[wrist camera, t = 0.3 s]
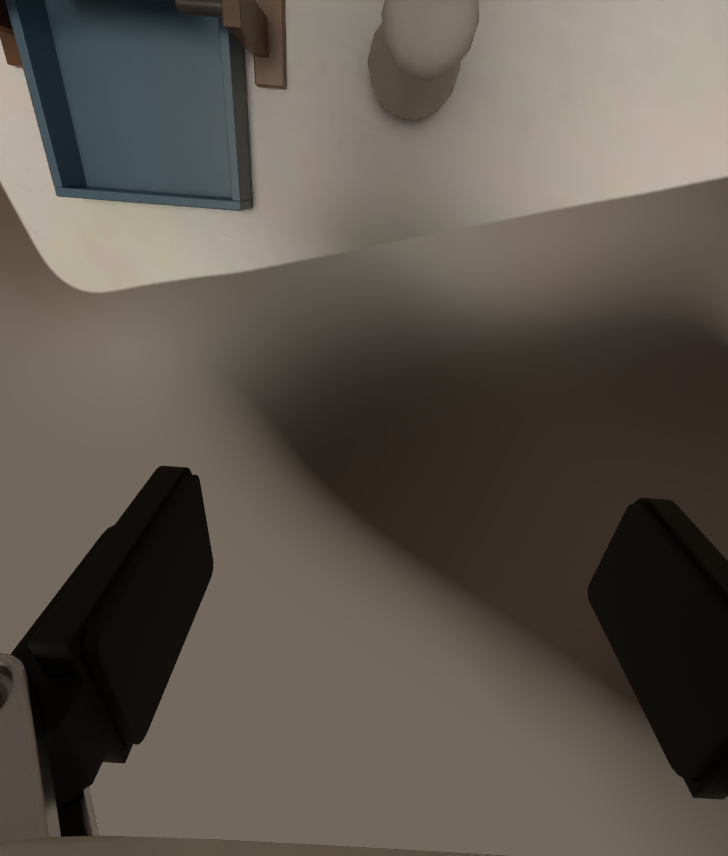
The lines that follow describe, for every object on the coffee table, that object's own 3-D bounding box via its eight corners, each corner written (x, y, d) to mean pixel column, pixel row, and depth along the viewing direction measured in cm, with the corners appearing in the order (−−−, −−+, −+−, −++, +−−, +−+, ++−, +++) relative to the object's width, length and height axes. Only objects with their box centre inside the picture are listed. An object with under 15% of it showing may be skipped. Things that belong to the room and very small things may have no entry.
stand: (-12, -35, 27) (-131, -99, 21) (284, -10, 27) (256, -65, 21) (15, 66, 30) (-83, 37, 23) (286, 89, 30) (261, 66, 24)
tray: (29, -45, 27) (-15, -72, 24) (240, -27, 27) (222, -52, 24) (85, 194, 34) (56, 196, 31) (253, 207, 34) (241, 210, 31)
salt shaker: (353, 91, 30) (339, 41, 19) (397, -8, 27) (410, -134, 16) (424, 141, 31) (450, 122, 20) (471, 51, 29) (531, -28, 17)
